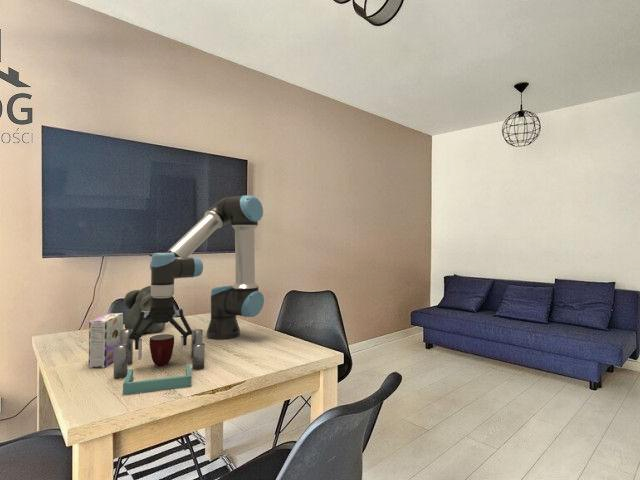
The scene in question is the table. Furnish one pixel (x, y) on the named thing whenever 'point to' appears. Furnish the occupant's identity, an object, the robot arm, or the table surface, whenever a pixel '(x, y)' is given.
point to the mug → (161, 349)
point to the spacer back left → (196, 337)
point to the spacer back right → (125, 340)
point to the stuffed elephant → (136, 304)
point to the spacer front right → (120, 361)
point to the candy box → (104, 339)
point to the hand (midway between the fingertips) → (161, 356)
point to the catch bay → (155, 383)
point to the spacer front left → (198, 356)
